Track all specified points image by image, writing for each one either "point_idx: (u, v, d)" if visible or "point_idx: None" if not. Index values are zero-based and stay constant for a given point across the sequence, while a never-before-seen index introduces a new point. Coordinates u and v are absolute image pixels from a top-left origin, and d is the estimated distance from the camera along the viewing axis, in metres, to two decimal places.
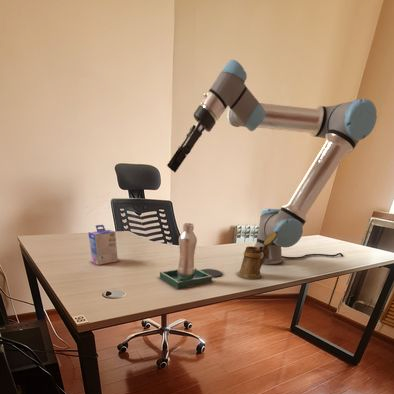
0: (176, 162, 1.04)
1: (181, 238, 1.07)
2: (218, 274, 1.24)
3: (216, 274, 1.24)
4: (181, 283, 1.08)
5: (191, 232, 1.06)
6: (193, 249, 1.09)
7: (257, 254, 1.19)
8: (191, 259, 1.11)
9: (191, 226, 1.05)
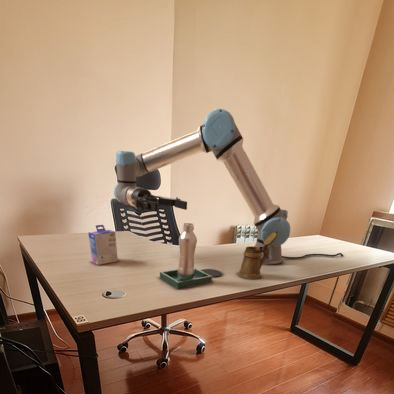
0: (150, 206, 1.07)
1: (181, 238, 1.07)
2: (218, 274, 1.24)
3: (216, 274, 1.24)
4: (181, 283, 1.08)
5: (191, 232, 1.06)
6: (193, 249, 1.09)
7: (257, 254, 1.19)
8: (191, 259, 1.11)
9: (191, 226, 1.05)
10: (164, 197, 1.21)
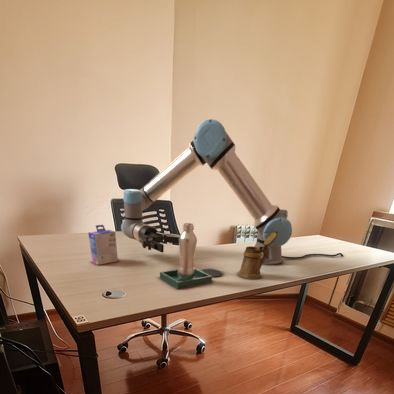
0: (157, 247, 1.12)
1: (181, 238, 1.07)
2: (218, 274, 1.24)
3: (216, 274, 1.24)
4: (181, 283, 1.08)
5: (191, 232, 1.06)
6: (193, 249, 1.09)
7: (257, 254, 1.19)
8: (191, 259, 1.11)
9: (191, 226, 1.05)
10: (170, 234, 1.25)
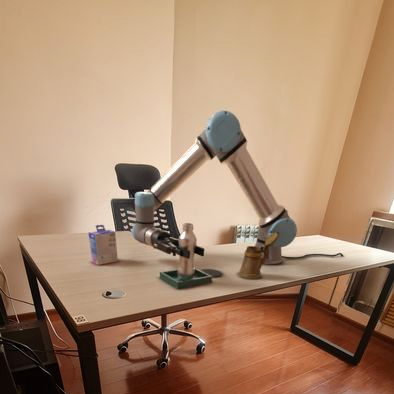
0: (183, 253, 1.07)
1: (181, 238, 1.07)
2: (218, 274, 1.24)
3: (216, 274, 1.24)
4: (181, 283, 1.08)
5: (191, 232, 1.06)
6: (193, 249, 1.09)
7: (258, 254, 1.19)
8: (191, 259, 1.11)
9: (191, 226, 1.05)
10: None
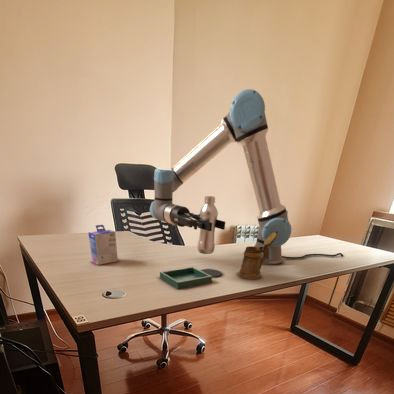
0: (205, 226, 1.09)
1: (203, 211, 1.08)
2: (218, 274, 1.24)
3: (216, 274, 1.24)
4: (181, 283, 1.08)
5: (212, 205, 1.08)
6: (214, 222, 1.10)
7: (257, 254, 1.19)
8: (212, 232, 1.12)
9: (213, 198, 1.06)
10: None
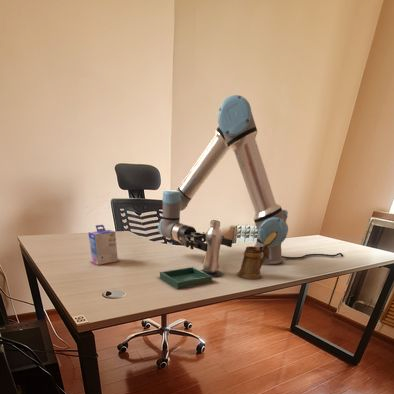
0: (200, 246, 1.15)
1: (208, 234, 1.15)
2: (218, 274, 1.24)
3: (216, 274, 1.24)
4: (181, 283, 1.08)
5: (218, 228, 1.15)
6: (219, 244, 1.18)
7: (257, 254, 1.19)
8: (217, 253, 1.19)
9: (218, 223, 1.14)
10: None
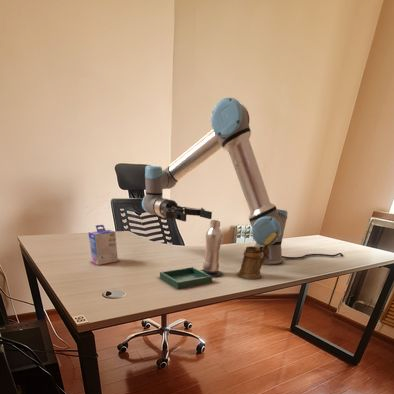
0: (180, 217, 1.18)
1: (208, 234, 1.15)
2: (218, 274, 1.24)
3: (216, 274, 1.24)
4: (181, 283, 1.08)
5: (218, 228, 1.15)
6: (219, 244, 1.18)
7: (257, 254, 1.19)
8: (217, 253, 1.19)
9: (218, 223, 1.14)
10: (189, 207, 1.32)
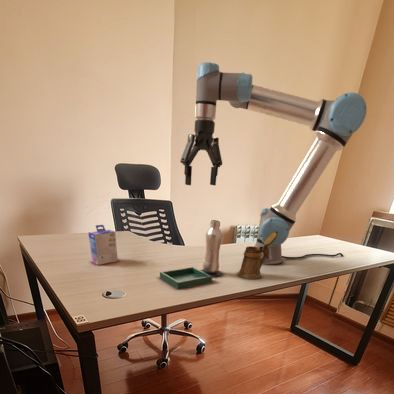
0: (187, 176, 1.18)
1: (208, 234, 1.15)
2: (218, 274, 1.24)
3: (216, 274, 1.24)
4: (181, 283, 1.08)
5: (218, 228, 1.15)
6: (219, 244, 1.18)
7: (257, 254, 1.19)
8: (217, 253, 1.19)
9: (218, 223, 1.14)
10: (216, 148, 1.20)
